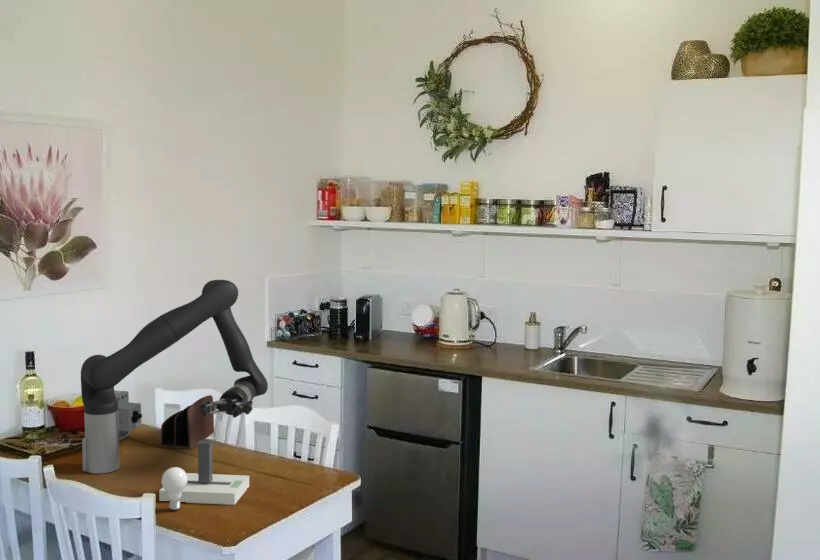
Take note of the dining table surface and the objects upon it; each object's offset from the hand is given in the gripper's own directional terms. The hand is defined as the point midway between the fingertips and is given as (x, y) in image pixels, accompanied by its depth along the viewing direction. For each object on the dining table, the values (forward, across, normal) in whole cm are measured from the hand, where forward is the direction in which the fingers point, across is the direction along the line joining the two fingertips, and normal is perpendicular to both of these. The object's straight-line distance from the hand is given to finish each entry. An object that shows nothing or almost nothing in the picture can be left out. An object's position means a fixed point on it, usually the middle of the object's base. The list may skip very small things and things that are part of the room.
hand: (219, 413), depth 230 cm
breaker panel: (+12, 0, +19) cm, 22 cm away
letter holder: (-35, -22, +19) cm, 46 cm away
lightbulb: (+24, -4, +19) cm, 31 cm away
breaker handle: (+12, 0, +15) cm, 20 cm away
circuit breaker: (-34, -44, +19) cm, 59 cm away
